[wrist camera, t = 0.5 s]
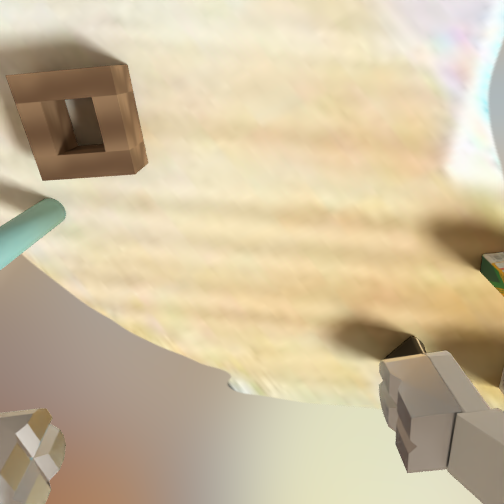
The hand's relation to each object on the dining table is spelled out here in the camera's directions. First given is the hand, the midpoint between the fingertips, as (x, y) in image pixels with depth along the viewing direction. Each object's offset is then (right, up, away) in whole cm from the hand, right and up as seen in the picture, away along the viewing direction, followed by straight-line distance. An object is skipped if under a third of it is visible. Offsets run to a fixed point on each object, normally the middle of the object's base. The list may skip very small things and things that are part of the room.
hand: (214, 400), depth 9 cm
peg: (-26, +9, +41) cm, 49 cm away
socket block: (-18, +19, +35) cm, 44 cm away
